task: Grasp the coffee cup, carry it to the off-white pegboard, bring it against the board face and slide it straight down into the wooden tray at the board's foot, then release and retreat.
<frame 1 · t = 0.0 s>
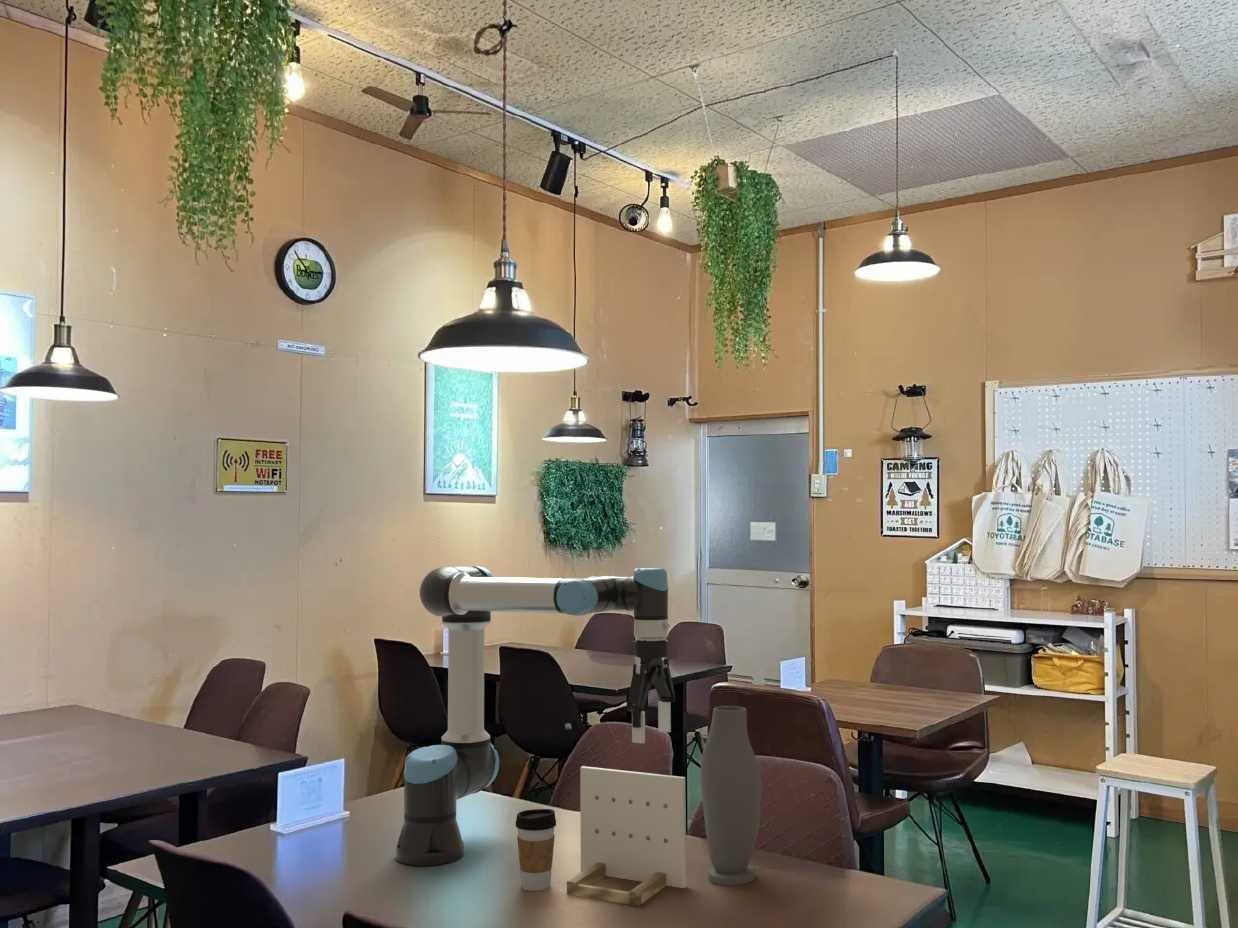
hand: (651, 737, 223), 28 cm above the table, fingers open, 13 cm apart
wall board: (632, 878, 214), on the table
coffee cup: (535, 887, 210), on the table
vase: (730, 877, 216), on the table
wooden tray: (617, 889, 208), on the table
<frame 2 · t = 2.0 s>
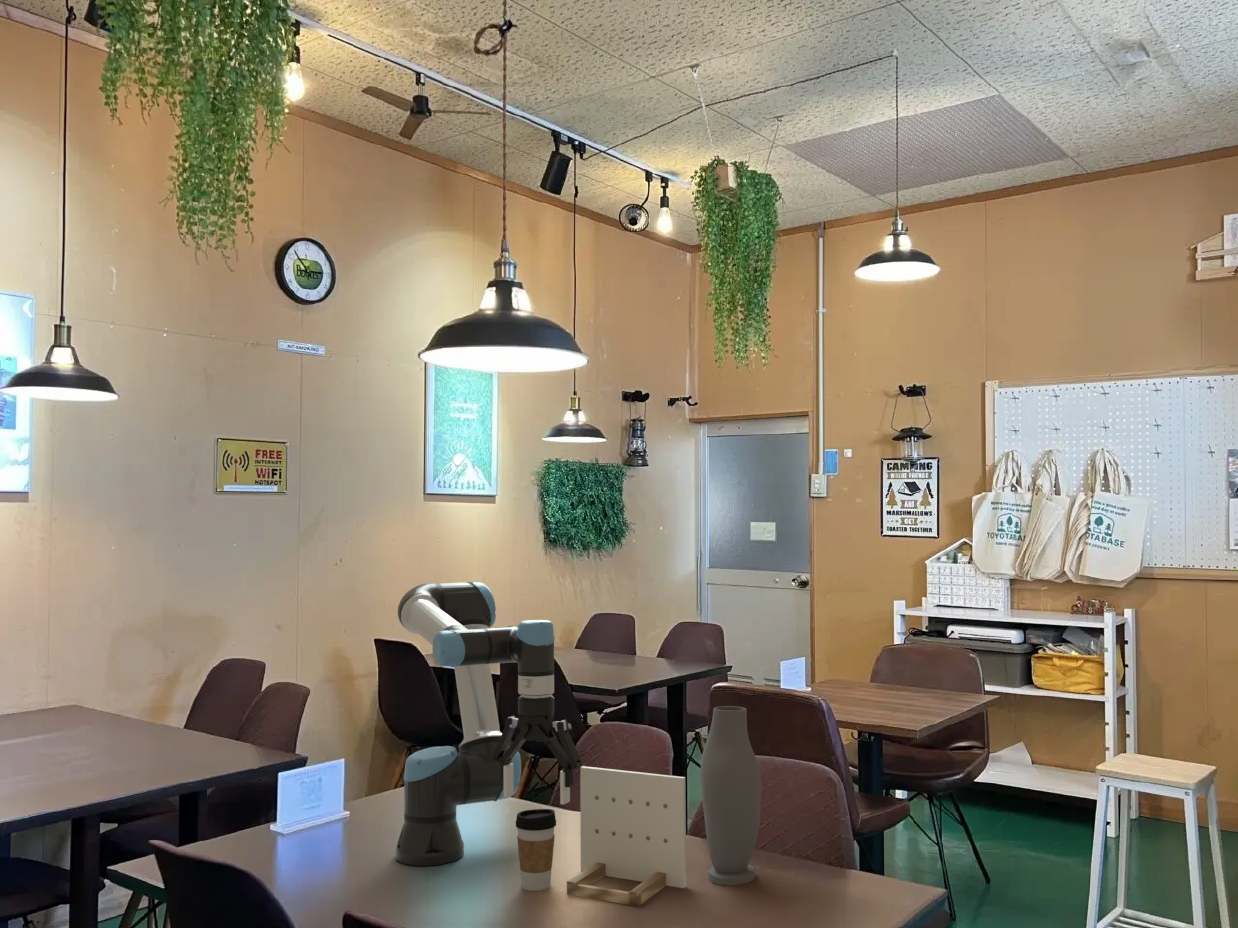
hand: (536, 799, 211), 17 cm above the table, fingers open, 13 cm apart
nothing on the table moved.
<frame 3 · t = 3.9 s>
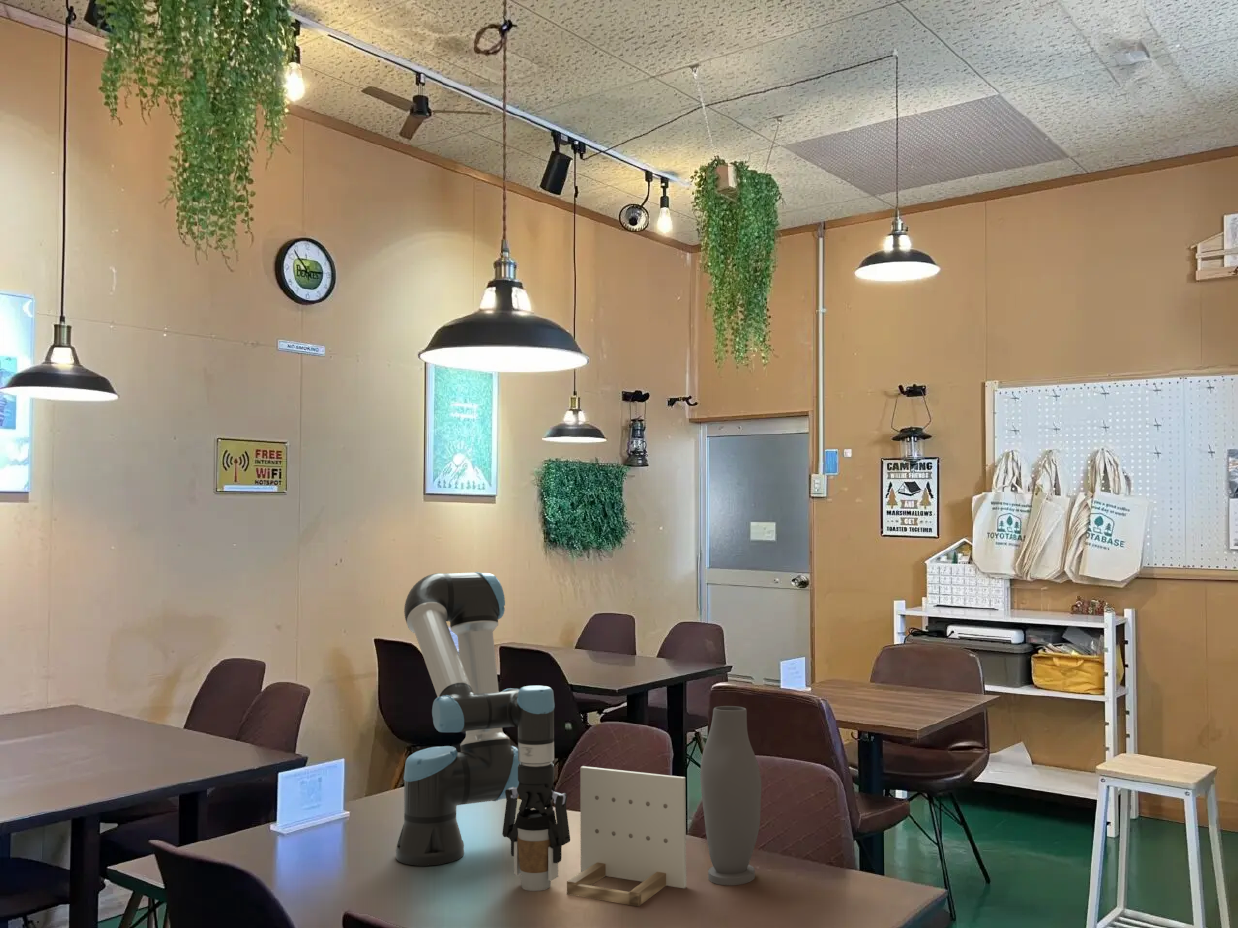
hand: (535, 875, 210), 2 cm above the table, fingers closed on coffee cup, 7 cm apart
coffee cup: (535, 887, 210), on the table, touching gripper
everything else where it was.
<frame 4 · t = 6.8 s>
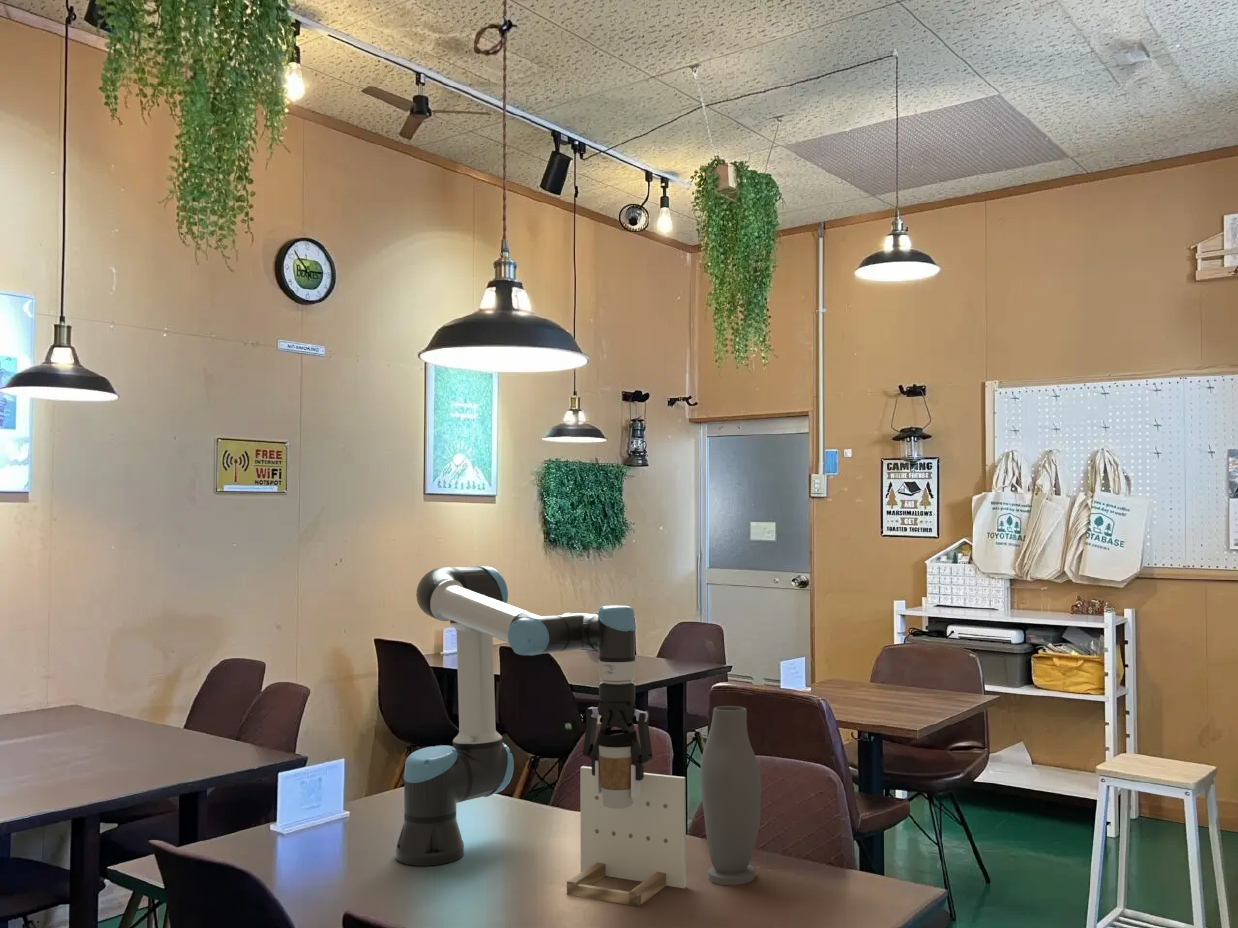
hand: (617, 793, 210), 19 cm above the table, fingers closed on coffee cup, 7 cm apart
coffee cup: (617, 805, 209), point 17 cm above the table, touching gripper
everything else where it was.
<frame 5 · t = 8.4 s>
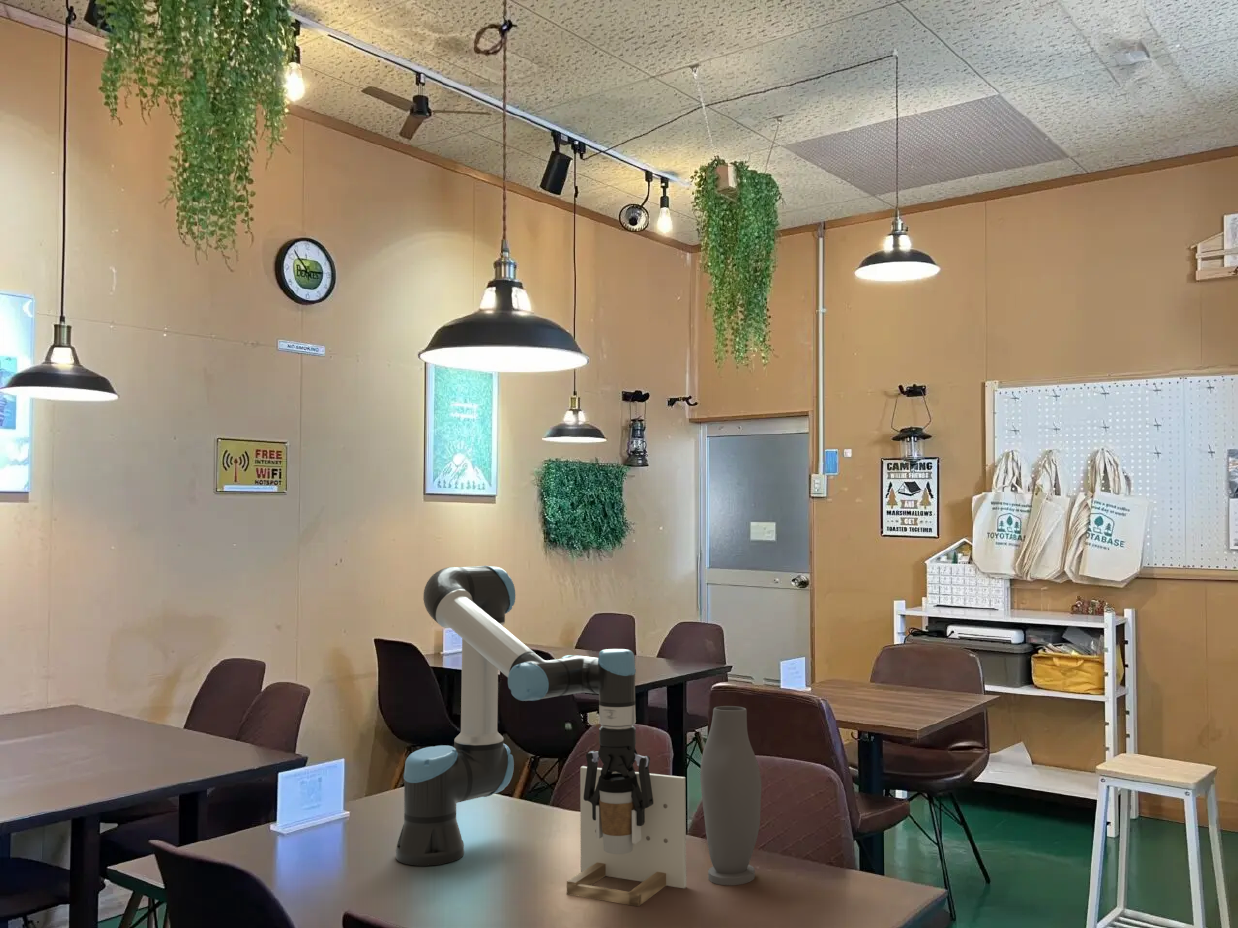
hand: (618, 838, 209), 10 cm above the table, fingers closed on coffee cup, 7 cm apart
coffee cup: (618, 850, 209), point 8 cm above the table, touching gripper
everything else where it was.
when the fingers open (4 cm above the table, at t = 9.9 s): coffee cup drops 2 cm, on the table.
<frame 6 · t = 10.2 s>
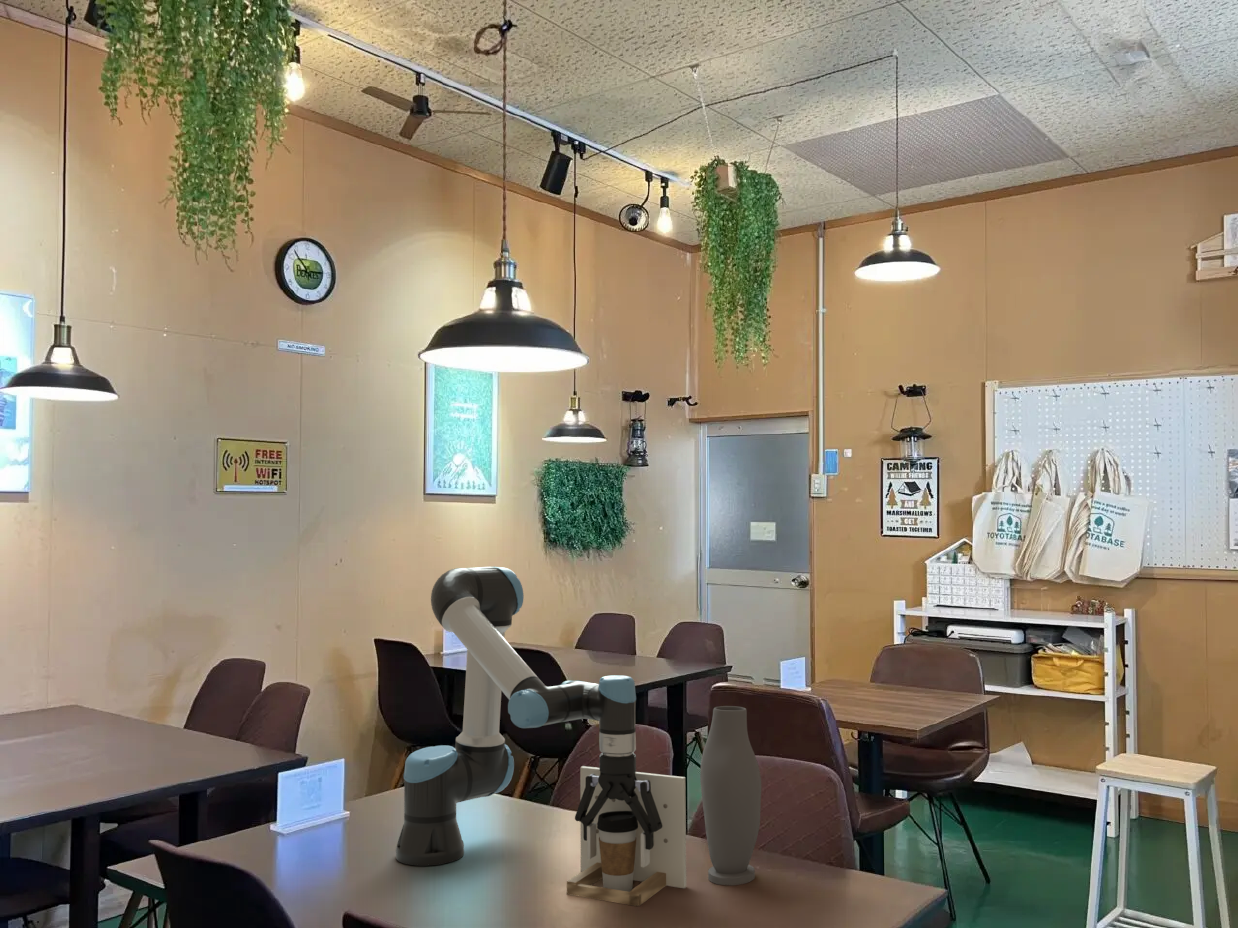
hand: (618, 860, 209), 5 cm above the table, fingers open, 11 cm apart
coffee cup: (618, 889, 208), on the table
everything else where it was.
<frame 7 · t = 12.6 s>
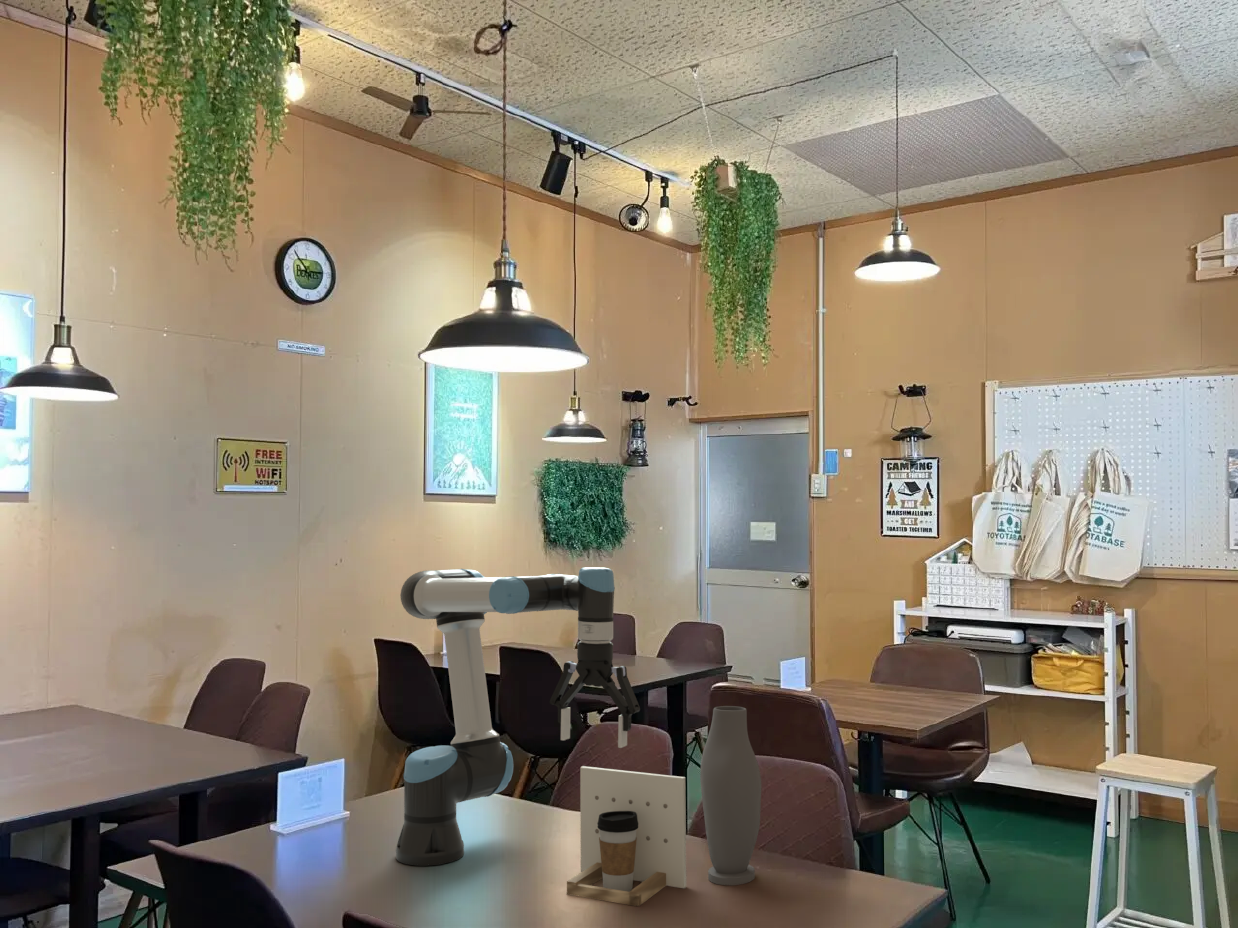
hand: (593, 742, 215), 28 cm above the table, fingers open, 13 cm apart
nothing on the table moved.
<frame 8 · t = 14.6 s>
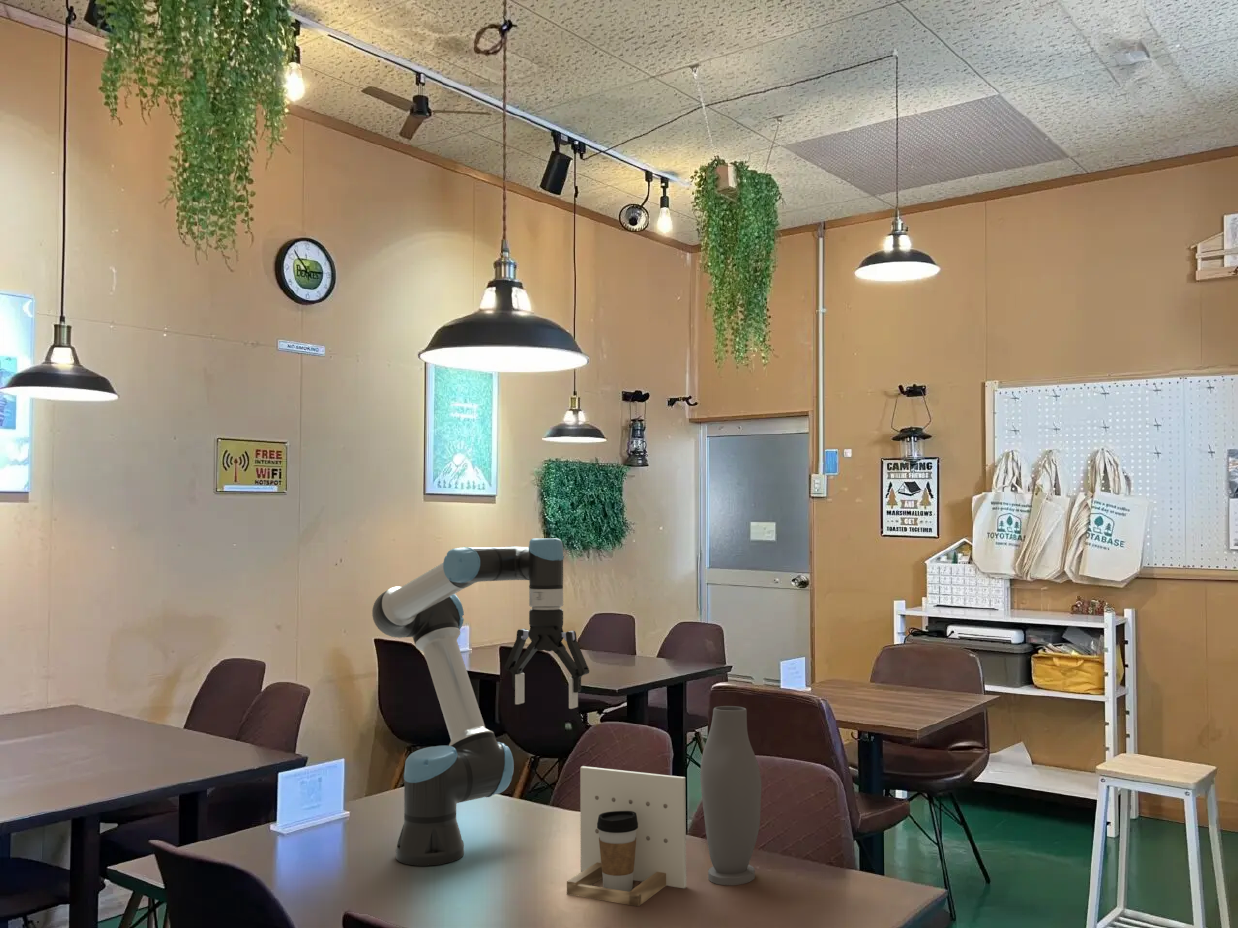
hand: (546, 705, 224), 35 cm above the table, fingers open, 13 cm apart
nothing on the table moved.
at the end: coffee cup inside the target area on the wooden tray (0.2 cm from its centre), point 0.0 cm above the wooden tray's base; coffee cup tilted 0°; the gripper is holding nothing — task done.
